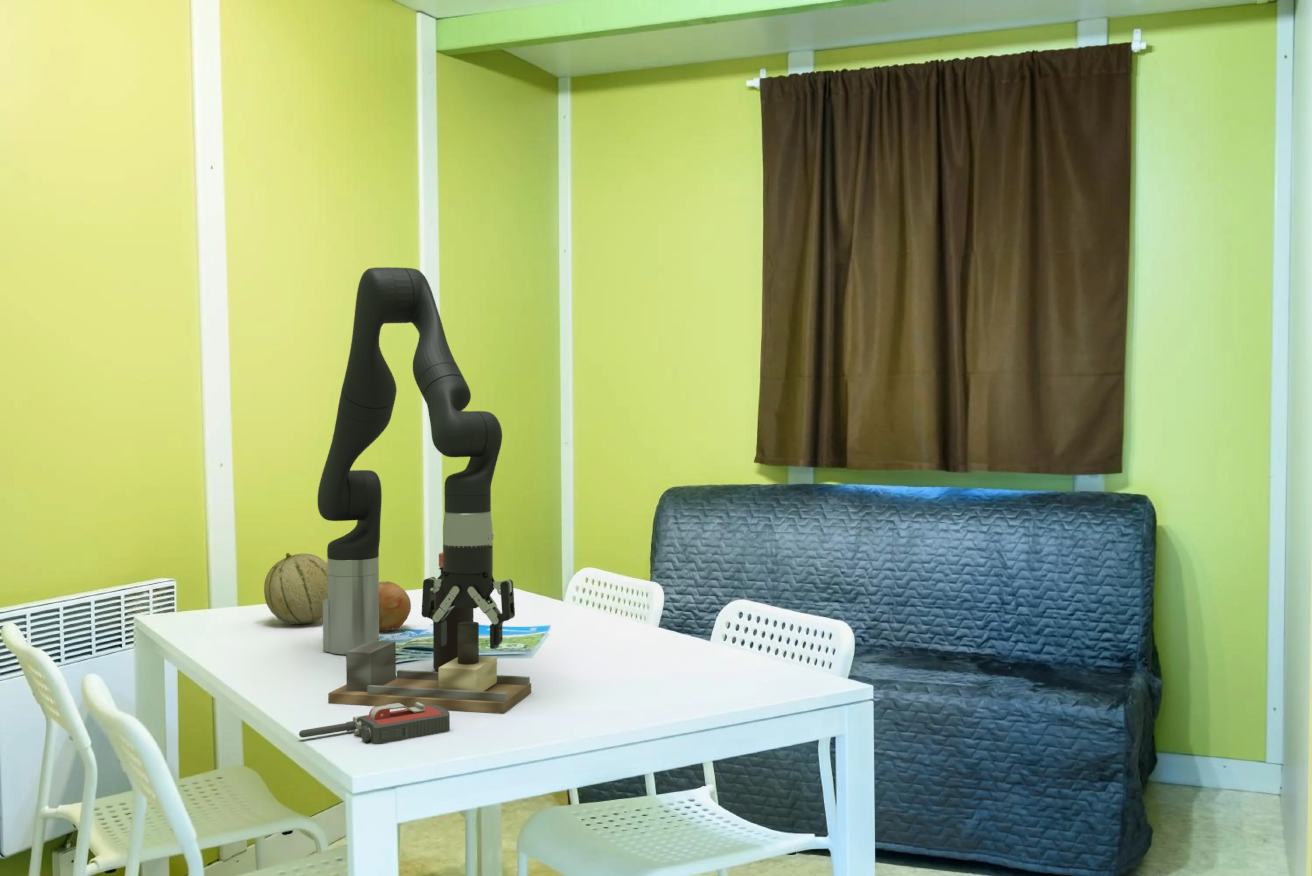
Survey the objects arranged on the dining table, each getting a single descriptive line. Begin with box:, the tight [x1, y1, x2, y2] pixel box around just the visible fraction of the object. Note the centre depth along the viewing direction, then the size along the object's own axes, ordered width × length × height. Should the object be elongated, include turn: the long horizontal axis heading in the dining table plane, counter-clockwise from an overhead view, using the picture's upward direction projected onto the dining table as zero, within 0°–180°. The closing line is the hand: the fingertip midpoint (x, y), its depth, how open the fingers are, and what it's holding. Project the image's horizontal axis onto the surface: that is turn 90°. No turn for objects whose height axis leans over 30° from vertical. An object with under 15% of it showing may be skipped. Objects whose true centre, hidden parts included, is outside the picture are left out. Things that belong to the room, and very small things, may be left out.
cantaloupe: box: [263, 552, 328, 625], centre depth 243 cm, size 15×15×15 cm
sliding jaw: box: [439, 621, 498, 691], centre depth 180 cm, size 6×9×10 cm, turn 168°
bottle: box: [432, 552, 474, 672], centre depth 201 cm, size 7×7×20 cm
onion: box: [379, 580, 412, 632], centre depth 236 cm, size 10×10×10 cm
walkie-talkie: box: [298, 702, 451, 745], centre depth 161 cm, size 9×4×20 cm
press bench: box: [327, 640, 532, 715], centre depth 182 cm, size 28×13×8 cm, turn 78°
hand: (468, 646), depth 180 cm, fingers open, 8 cm apart
